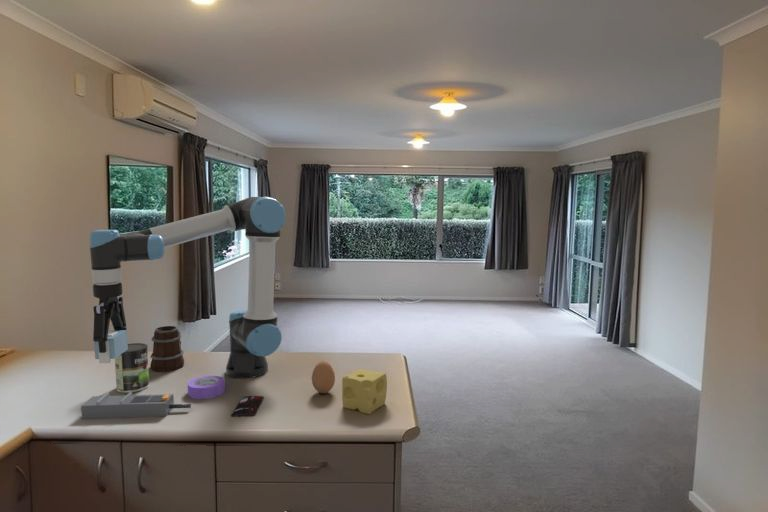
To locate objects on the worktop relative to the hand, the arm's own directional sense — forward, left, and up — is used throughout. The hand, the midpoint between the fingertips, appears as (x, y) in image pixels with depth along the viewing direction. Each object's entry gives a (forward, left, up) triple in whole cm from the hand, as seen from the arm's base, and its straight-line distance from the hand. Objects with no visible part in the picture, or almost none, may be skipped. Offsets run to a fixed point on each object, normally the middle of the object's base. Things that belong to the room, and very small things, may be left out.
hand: (112, 357), depth 152 cm
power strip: (-7, 0, -17) cm, 19 cm away
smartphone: (-39, -2, -18) cm, 43 cm away
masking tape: (-23, -15, -18) cm, 33 cm away
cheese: (-75, 0, -18) cm, 77 cm away
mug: (-2, -44, -18) cm, 47 cm away
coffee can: (+3, -21, -18) cm, 27 cm away
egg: (-62, -11, -18) cm, 65 cm away
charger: (0, 0, +1) cm, 1 cm away
